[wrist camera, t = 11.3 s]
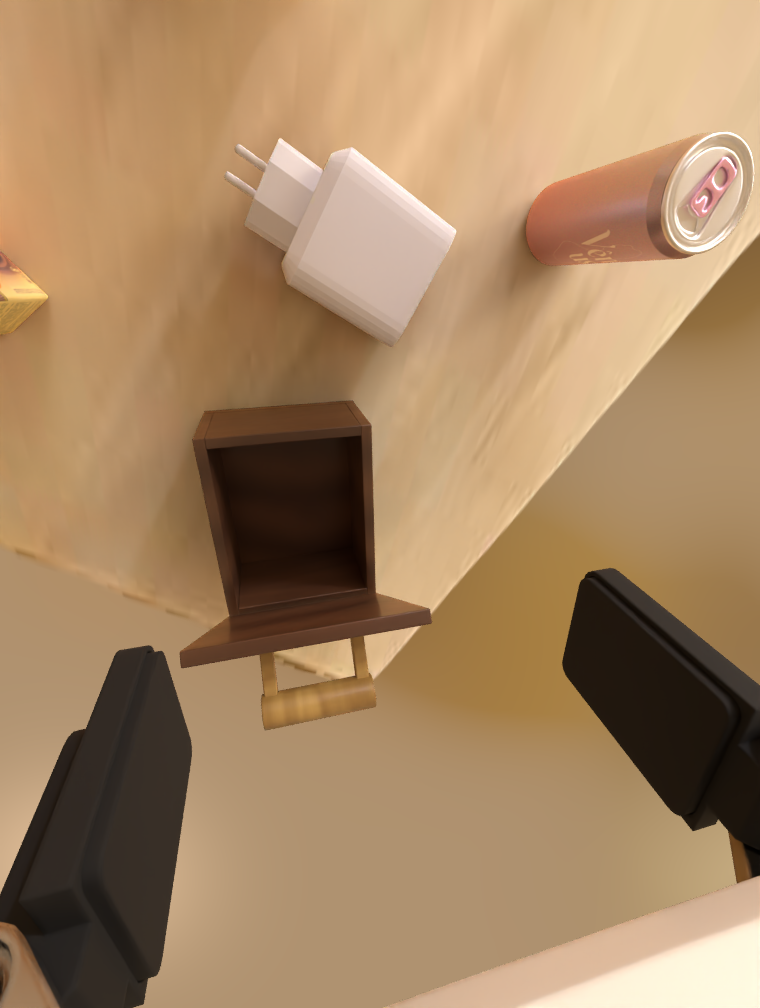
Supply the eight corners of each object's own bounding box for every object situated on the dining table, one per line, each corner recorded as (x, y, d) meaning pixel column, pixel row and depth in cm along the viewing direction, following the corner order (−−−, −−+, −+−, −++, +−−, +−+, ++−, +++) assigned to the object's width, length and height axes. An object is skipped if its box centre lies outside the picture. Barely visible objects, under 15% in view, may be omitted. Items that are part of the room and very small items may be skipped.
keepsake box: (204, 411, 38) (191, 439, 31) (352, 400, 40) (371, 424, 33) (234, 566, 45) (229, 617, 38) (359, 549, 47) (375, 594, 40)
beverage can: (599, 215, 38) (775, 181, 25) (554, 280, 40) (698, 280, 27) (554, 164, 36) (723, 96, 23) (507, 236, 37) (641, 211, 24)
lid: (179, 651, 21) (188, 763, 21) (430, 608, 24) (445, 707, 23) (228, 616, 37) (235, 679, 37) (376, 592, 40) (384, 651, 39)
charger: (260, 97, 30) (437, 235, 36) (206, 235, 32) (380, 341, 38) (260, 68, 26) (460, 229, 32) (198, 228, 28) (395, 349, 34)
